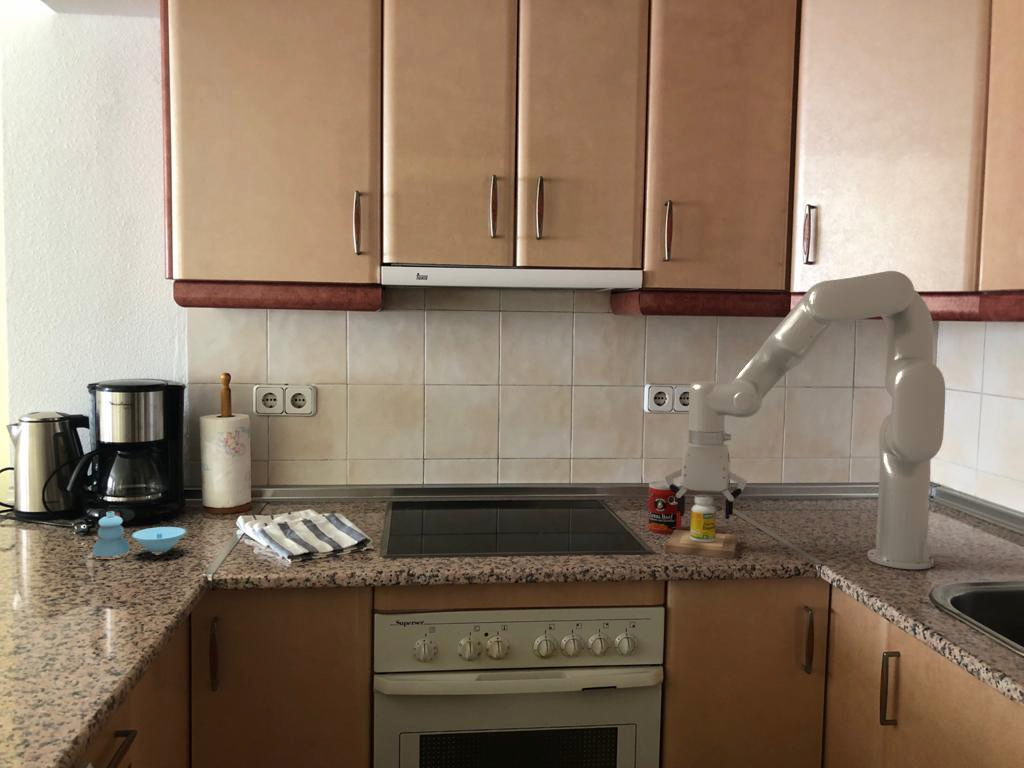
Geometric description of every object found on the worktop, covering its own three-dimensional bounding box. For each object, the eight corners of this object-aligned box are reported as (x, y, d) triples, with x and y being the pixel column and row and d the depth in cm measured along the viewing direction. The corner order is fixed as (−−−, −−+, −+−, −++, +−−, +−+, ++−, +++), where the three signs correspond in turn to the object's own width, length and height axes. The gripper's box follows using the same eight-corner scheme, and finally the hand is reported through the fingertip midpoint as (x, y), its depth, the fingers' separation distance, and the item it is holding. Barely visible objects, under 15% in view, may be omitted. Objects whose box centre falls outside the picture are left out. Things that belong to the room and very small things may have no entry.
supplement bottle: (702, 535, 194) (703, 492, 193) (720, 540, 189) (722, 497, 188) (684, 538, 191) (686, 495, 190) (702, 544, 186) (704, 500, 185)
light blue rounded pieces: (191, 546, 186) (190, 504, 186) (181, 560, 176) (180, 516, 175) (101, 549, 183) (99, 507, 182) (86, 563, 173) (84, 518, 172)
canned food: (643, 531, 203) (644, 484, 202) (654, 524, 210) (655, 479, 209) (675, 535, 199) (676, 488, 198) (685, 528, 206) (686, 482, 205)
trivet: (737, 541, 195) (737, 534, 194) (733, 558, 181) (733, 551, 181) (674, 536, 199) (674, 529, 199) (665, 551, 186) (665, 544, 186)
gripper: (748, 437, 189) (746, 515, 190) (668, 434, 194) (667, 509, 196) (746, 442, 182) (744, 523, 183) (663, 439, 187) (662, 517, 189)
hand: (704, 516), depth 189 cm, fingers open, 9 cm apart
